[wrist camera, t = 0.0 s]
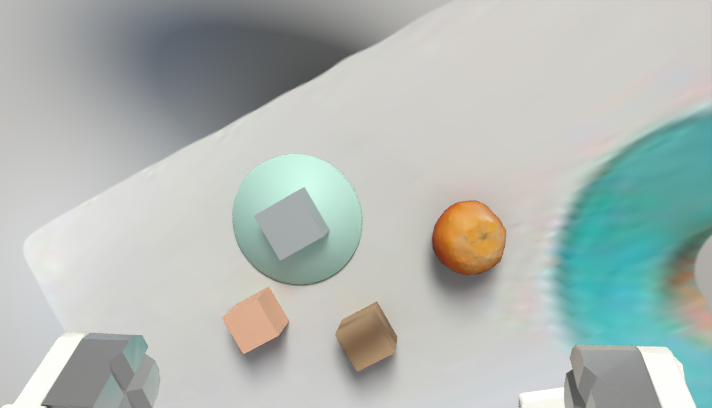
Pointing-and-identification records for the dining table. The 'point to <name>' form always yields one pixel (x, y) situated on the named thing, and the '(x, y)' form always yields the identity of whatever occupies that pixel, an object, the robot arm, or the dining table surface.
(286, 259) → the mint green round disc
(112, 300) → the dining table surface
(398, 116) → the dining table surface
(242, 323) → the terracotta block
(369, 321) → the walnut block
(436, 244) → the fruit
